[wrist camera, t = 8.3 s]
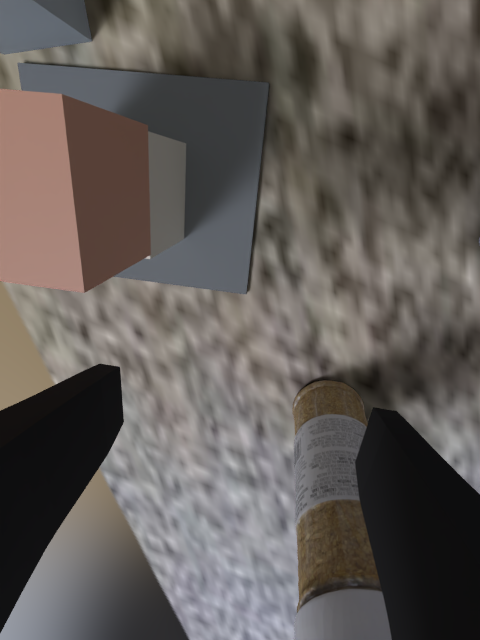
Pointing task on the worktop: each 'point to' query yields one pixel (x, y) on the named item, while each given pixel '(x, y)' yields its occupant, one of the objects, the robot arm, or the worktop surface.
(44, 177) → the terracotta brick
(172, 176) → the cream brick
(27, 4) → the slate brick
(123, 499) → the worktop surface
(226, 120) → the mat
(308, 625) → the sprinkles bottle
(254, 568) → the worktop surface
